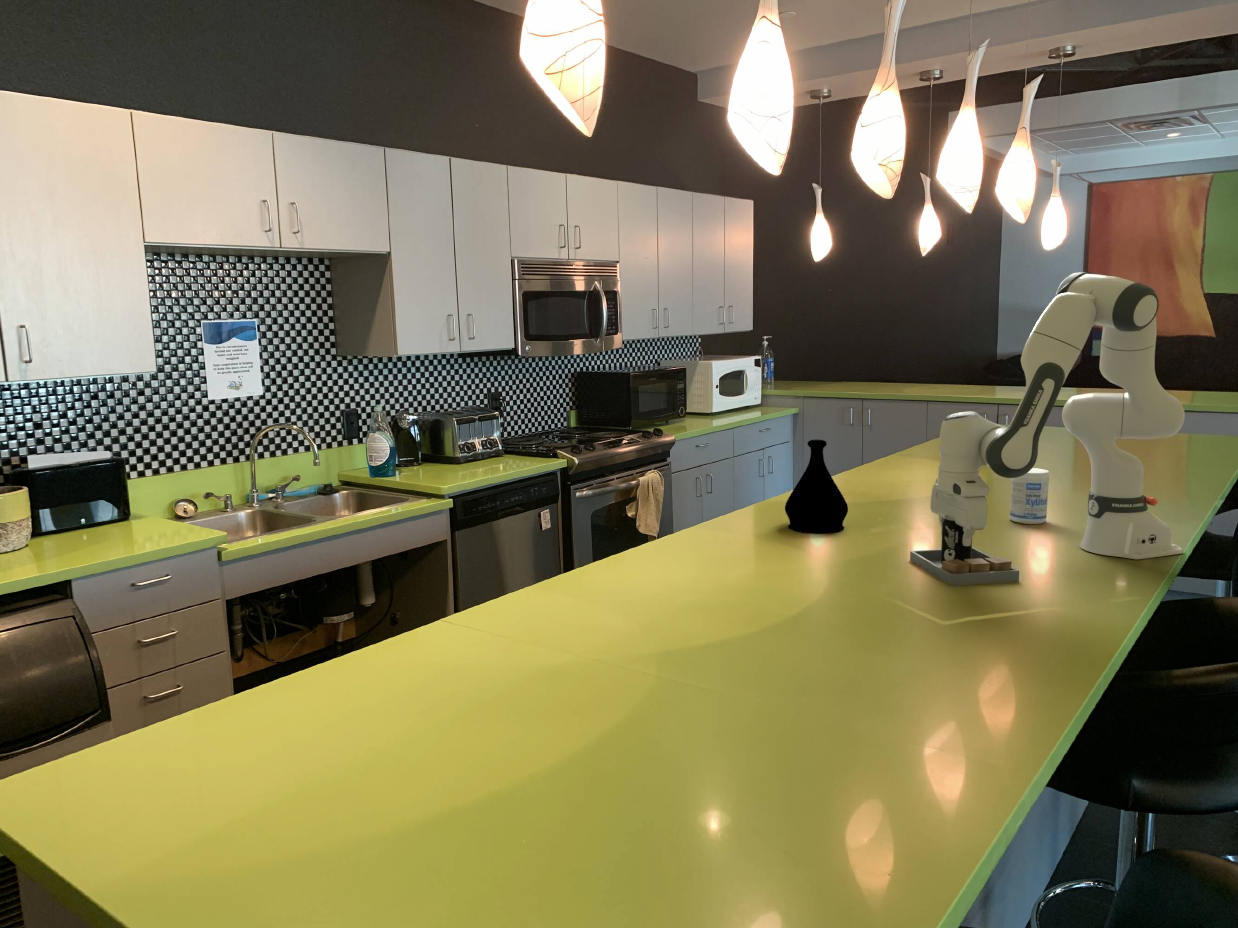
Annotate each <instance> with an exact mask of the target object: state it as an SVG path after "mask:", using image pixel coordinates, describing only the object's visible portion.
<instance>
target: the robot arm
mask: <svg viewBox="0 0 1238 928" xmlns="http://www.w3.org/2000/svg"><path fill="white" fill-rule="evenodd" d="M1159 303H1160V301H1159V299H1158V295H1157V293H1156V290H1154V289H1153V288H1152V287H1150V286H1148V285H1147V284H1144V283H1141V282H1135V281H1132V280H1129V279H1125V278H1122V277H1119V276H1114V275H1112V276H1110V275H1104V274H1097V273H1096V274H1095V273H1092V272H1088V271H1086V272H1085V271H1079V272H1074V273H1071V274H1069V275H1068V276H1066V278H1064V279H1063V280H1062V282H1061V283H1060V284H1059V285H1058V287H1057V290H1056V291H1055V297H1054V298H1053V299H1052V300H1051V301H1050V303H1049V304H1048V306H1047V307H1046V308H1045V309H1044V311H1043V312H1042V314H1041V315H1040V316H1039V318H1038V320H1037V321H1036V323H1035V325H1034V327H1032V330H1031V332H1030V334H1029V336H1028V338H1027V340H1026V342H1025V345H1024V347H1023V350H1022V353H1021V357H1020V363H1021V364H1020V365H1021V368H1022V371H1023V372H1024V376H1025V391H1024V393H1023V396H1022V398H1021V401H1020V403H1019V405H1018V407H1017V409H1016V411H1015V413H1014V416H1013V417H1012V419H1011V422H1010V424H1009V425H1008V426H1005V425H1001V424H999V423H995V422H993V421H991V420H989V419H987V418H984V417H983V416H981V415H980V414H979V413H978V412H976V411H958V412H954V413H952V414H949V415H947V416H946V417H945V418H943V420H942V423H941V426H940V431H939V443H938V452H939V455H940V459H939V460H940V462H939V465H938V469H937V478H936V479H935V484H933V485H932V488H931V494H930V505H929V506H930V511H931V513H932V514H935V515H937V516H938V521H939V524H940V528H941V530H940V531H941V532H940V533H941V535H942V523H943V521H944V519H945V516H946V517H948V518H949V519H954V520H955V523H956V524H958V525H960V526H962V527H963V531H964V535H963V537H961V544H962V545H964V546H970V545H971V538H972V539H973V537H974V534H975V533H976V531H982V530H984V529H985V527H986V526H987V522H988V521H987V520H988V513H989V512H988V509H989V508H988V507H989V504H988V499H987V497H988V496H990V490H991V489H990V486H989V485H988V484H987V483H986V482H985V481H984V480H983V478H982V477H981V476H980V468H981V467H982V466H987V467H989V468H990V469H991V470H992V471H993V473H994V474H996V475H998V476H999V477H1002V478H1006V479H1012V478H1017V477H1020V476H1023V475H1025V474H1026V473H1028V472H1029V471H1030V470H1031V469H1032V468H1034V466H1035V465H1036V462H1037V459H1038V454H1039V453H1038V452H1039V441H1040V438H1041V434H1042V432H1043V430H1044V427H1045V425H1046V424H1047V421H1048V419H1049V417H1050V414H1051V412H1052V410H1053V408H1054V405H1055V403H1056V401H1057V400H1058V396H1059V395H1060V392H1061V390H1062V387H1063V385H1064V384H1065V382H1066V379H1067V377H1068V375H1069V373H1070V372H1071V370H1072V368H1073V367H1074V365H1075V363H1076V362H1077V360H1078V358H1079V355H1081V351H1082V350H1083V348H1084V346H1085V344H1086V342H1087V340H1088V339H1089V336H1090V333H1091V331H1092V328H1093V327H1094V326H1097V327H1102V333H1101V343H1100V354H1099V371H1100V374H1101V375H1102V377H1103V378H1104V379H1106V381H1108V382H1109V383H1112V384H1114V385H1116V386H1118V387H1120V388H1122V389H1123V390H1125V391H1126V392H1117V393H1116V392H1088V393H1082V394H1076V395H1072V396H1070V398H1069V399H1067V401H1066V402H1065V404H1064V406H1063V408H1062V413H1061V420H1062V423H1063V426H1064V427H1065V429H1066V430H1067V432H1068V433H1070V434H1071V435H1072V436H1074V437H1075V438H1076V439H1077V440H1078V441H1079V442H1080V443H1081V444H1082V445H1083V447H1084V448H1085V450H1086V452H1087V455H1088V457H1089V460H1090V468H1091V469H1090V470H1091V471H1090V472H1091V476H1090V477H1091V482H1090V491H1089V492H1088V498H1087V499H1088V500H1087V512H1088V513H1087V514H1088V515H1087V521H1086V527H1085V530H1084V533H1083V537H1082V539H1081V543H1080V544H1079V547H1080V549H1082V550H1084V551H1087V552H1090V553H1094V554H1098V555H1102V556H1111V557H1118V558H1119V557H1120V558H1124V559H1125V558H1126V559H1132V560H1144V559H1150V558H1159V557H1165V556H1167V557H1168V556H1171V555H1172V556H1173V555H1179V554H1183V549H1182V547H1181V546H1179V545H1177V544H1175V543H1173V539H1172V538H1173V535H1172V530H1171V528H1170V526H1169V525H1168V524H1167V523H1165V522H1164V521H1163V520H1162V519H1160V518H1159V517H1157V516H1156V515H1155V514H1154V513H1152V512H1151V511H1150V510H1149V507H1148V505H1149V506H1152V507H1157V504H1159V499H1157V498H1156V497H1153V496H1148V497H1147V496H1145V495H1143V486H1144V476H1145V475H1144V474H1145V467H1144V464H1143V462H1142V461H1141V460H1140V458H1138V457H1137V456H1135V455H1133V454H1132V453H1129V452H1128V451H1125V450H1123V449H1121V448H1120V447H1118V444H1117V443H1116V442H1117V441H1116V440H1119V439H1120V440H1121V439H1132V440H1134V439H1135V440H1137V439H1138V440H1156V439H1157V440H1158V439H1164V438H1171V437H1174V436H1175V435H1177V434H1178V433H1179V432H1180V430H1181V429H1182V427H1183V425H1184V423H1185V418H1186V413H1185V408H1184V406H1183V404H1182V403H1181V401H1180V400H1179V399H1178V398H1177V397H1175V396H1174V395H1172V394H1170V392H1168V391H1166V390H1165V388H1163V386H1162V385H1161V383H1160V382H1159V379H1158V378H1157V375H1156V370H1155V369H1156V368H1155V360H1156V359H1155V357H1156V343H1157V329H1158V328H1157V313H1158V311H1159V306H1160V305H1159Z"/></svg>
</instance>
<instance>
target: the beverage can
mask: <svg viewBox="0 0 1238 928" xmlns="http://www.w3.org/2000/svg"><path fill="white" fill-rule="evenodd" d="M963 535H964V531H963V527H962V526H960V525H958V524H956V523H955V520H954V519H949V518H948V517H946V516H945V519H944V521H943V523H942V534H941V548H940V549H941V564H942V561H948V560H954V559H957V560H960V561H963V562H964V559H971V552H972V545H973V537H972V538H971V545H970V546H964V545H962V544H961V537H963Z"/></svg>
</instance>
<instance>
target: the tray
mask: <svg viewBox="0 0 1238 928" xmlns="http://www.w3.org/2000/svg"><path fill="white" fill-rule="evenodd" d="M909 553H910V554H909V561H910V562H911V563H913V564H914V565H916V566H918V567H919V568H921V569H922V570H924V571H925V572H927V573H929V574H930V575H932V576H934V577H935V578H936V579H938V580H940V581H942V582H943V583H945V584H946V585H948V586H949V587H950V586H953V587H954V586H968V585H969V586H970V585H981V584H982V585H983V584H984V585H985V584H997V583H998V584H999V583H1015V582H1020V570H1019V569H1017V568H1015V567H1013V566H1011V570H1010V571H993V572H977V573H961V574H951V573H949V572H947V571H946V570H944V569H942V564H941V548H937V549H922V550H910V552H909ZM981 558H982V559H983V560H984V558H993V556H991V555H990V554H987V553H985V552H983V551H981V550H980V549H977V548H975V547H972V552H971V559H981Z"/></svg>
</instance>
